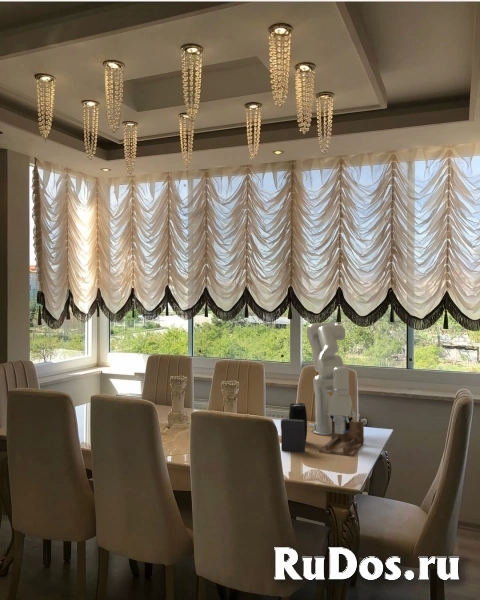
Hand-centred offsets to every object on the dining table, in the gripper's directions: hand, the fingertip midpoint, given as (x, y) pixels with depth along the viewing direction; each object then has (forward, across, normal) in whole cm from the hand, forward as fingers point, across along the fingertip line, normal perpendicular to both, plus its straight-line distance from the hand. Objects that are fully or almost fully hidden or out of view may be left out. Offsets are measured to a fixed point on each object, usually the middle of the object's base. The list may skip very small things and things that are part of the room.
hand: (341, 429), depth 259 cm
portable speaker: (+9, -23, +1) cm, 25 cm away
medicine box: (+2, 0, 0) cm, 2 cm away
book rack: (+9, 0, 0) cm, 9 cm away
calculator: (+9, -20, -14) cm, 26 cm away
